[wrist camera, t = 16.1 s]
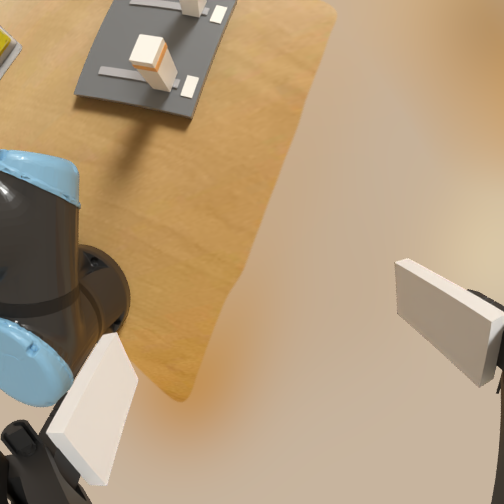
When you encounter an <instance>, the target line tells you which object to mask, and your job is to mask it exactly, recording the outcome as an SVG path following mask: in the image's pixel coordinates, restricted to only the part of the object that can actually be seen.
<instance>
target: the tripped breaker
mask: <svg viewBox="0 0 504 504" xmlns="http://www.w3.org/2000/svg"><path fill="white" fill-rule="evenodd" d="M167 47H168V46H167V44H166V43H165V41H164V39H163V37H156V36H150V35H143V34H140V35H139V37H138V39H137V41H136V44H135V46H134V49H133V51H132V53H131V56H130V58H129V61H130V62H131V63H132V66H133V67H134V68H136V69H137V70H138V72H139V73H140V74H141V75H142V76H143V78H144V79H145V80H146V81H147V82H148V84H149V85H150V86H151V87H152V88H153V89H157V90H162V91H167V92H171V89H172V86H173V83H174V81H175V78H176V75H177V73H178V72H177V69H176V67H175V65H174V62H173V60H172V58H171V55H170V53H169V51H168V48H167Z"/></svg>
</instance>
